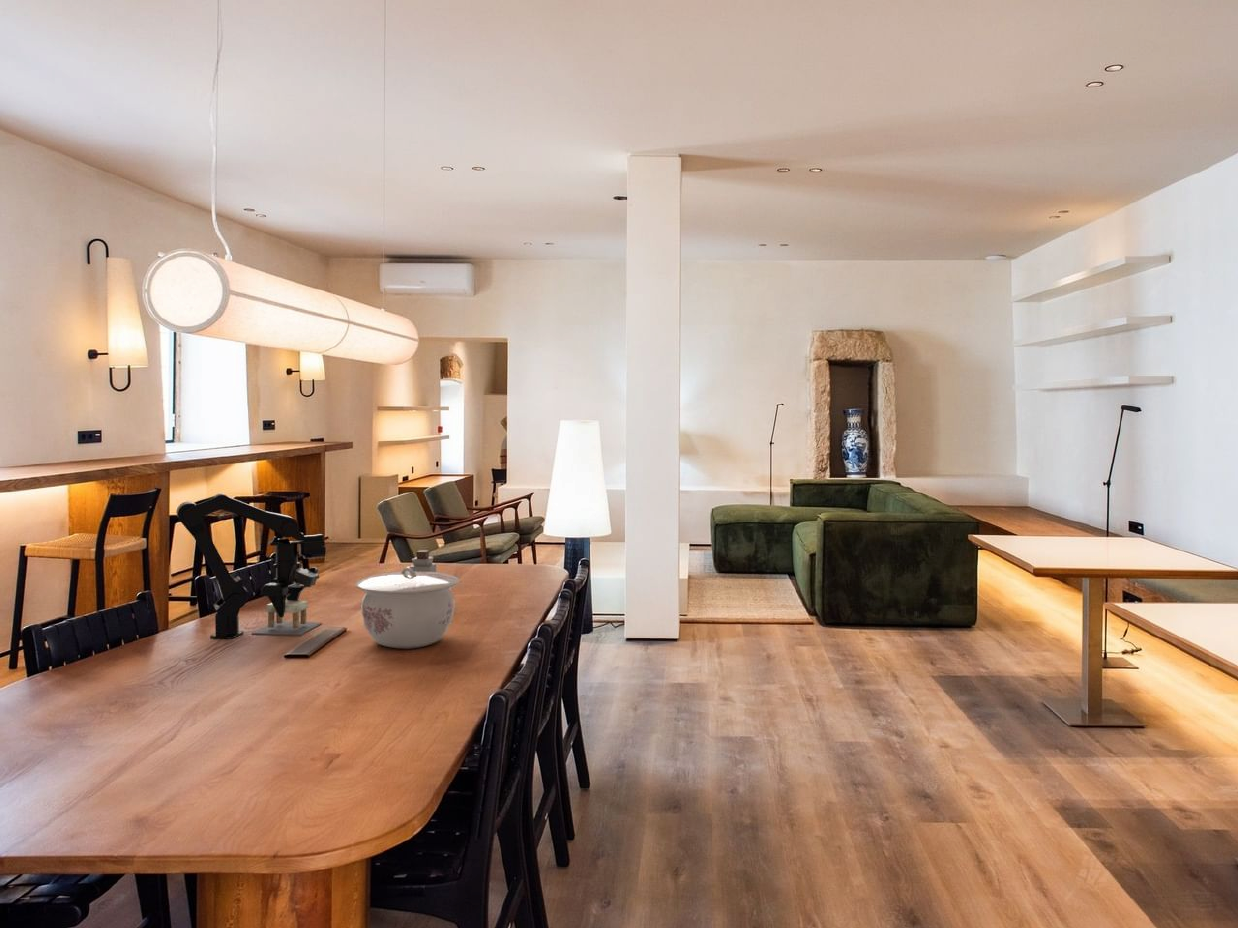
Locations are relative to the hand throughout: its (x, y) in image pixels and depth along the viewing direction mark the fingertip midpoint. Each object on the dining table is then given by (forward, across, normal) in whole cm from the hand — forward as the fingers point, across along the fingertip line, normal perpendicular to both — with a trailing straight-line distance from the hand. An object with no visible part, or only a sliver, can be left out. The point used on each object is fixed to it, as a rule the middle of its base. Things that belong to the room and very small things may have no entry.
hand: (287, 614), depth 245 cm
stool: (+3, 0, 0) cm, 3 cm away
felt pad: (+4, 0, 0) cm, 4 cm away
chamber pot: (+4, -10, -39) cm, 41 cm away
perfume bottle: (+4, +33, -29) cm, 44 cm away
